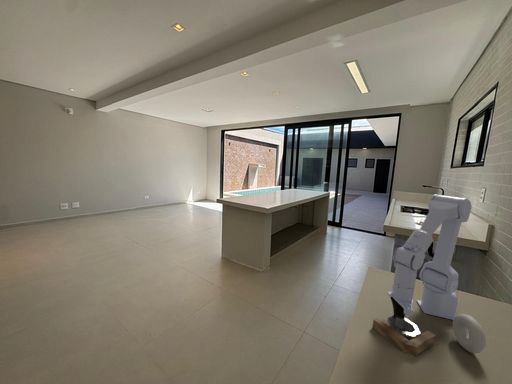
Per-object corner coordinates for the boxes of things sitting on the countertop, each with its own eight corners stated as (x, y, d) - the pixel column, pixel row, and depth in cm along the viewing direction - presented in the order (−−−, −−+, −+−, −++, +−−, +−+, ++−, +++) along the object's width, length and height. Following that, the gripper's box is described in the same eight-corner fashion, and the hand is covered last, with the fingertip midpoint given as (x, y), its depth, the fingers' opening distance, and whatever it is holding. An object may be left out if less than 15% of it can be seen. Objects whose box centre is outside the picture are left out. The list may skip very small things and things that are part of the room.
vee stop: (431, 340, 67) (433, 331, 66) (445, 365, 58) (447, 355, 58) (371, 324, 72) (372, 316, 72) (376, 345, 64) (378, 336, 64)
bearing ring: (412, 329, 71) (414, 320, 70) (422, 349, 63) (423, 339, 63) (384, 322, 74) (385, 313, 73) (390, 340, 66) (391, 330, 65)
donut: (485, 363, 59) (493, 331, 58) (471, 361, 60) (478, 329, 59) (459, 335, 69) (465, 307, 68) (447, 333, 70) (452, 305, 68)
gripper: (385, 270, 79) (380, 304, 81) (396, 293, 65) (389, 332, 67) (407, 275, 76) (402, 309, 78) (423, 299, 63) (416, 339, 65)
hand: (398, 320), depth 73 cm, fingers closed
